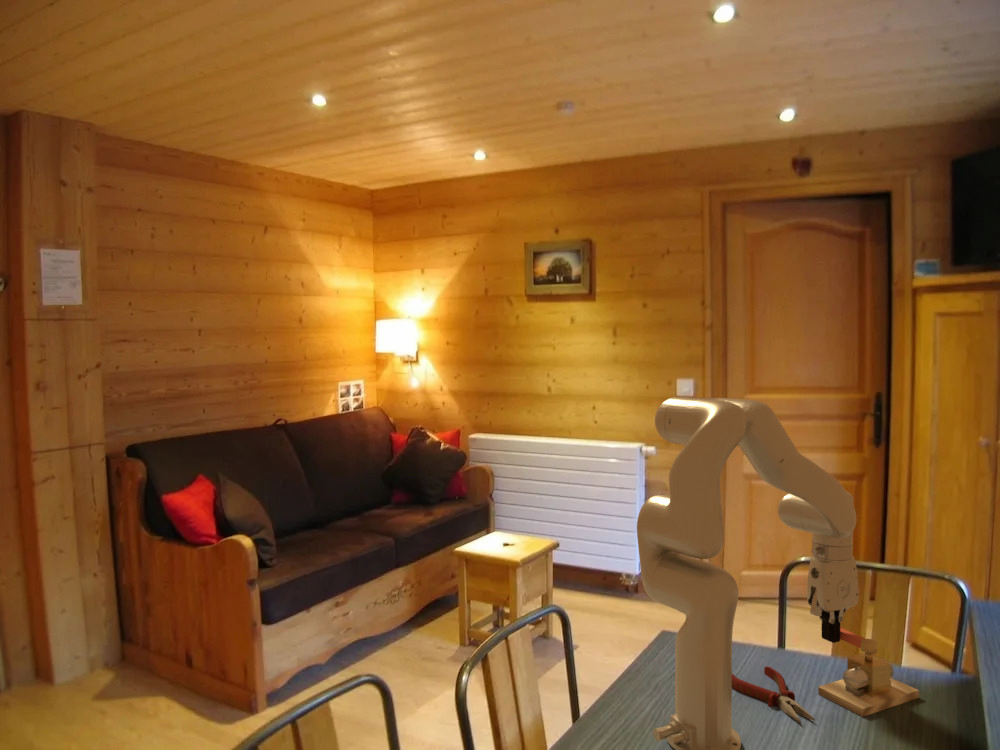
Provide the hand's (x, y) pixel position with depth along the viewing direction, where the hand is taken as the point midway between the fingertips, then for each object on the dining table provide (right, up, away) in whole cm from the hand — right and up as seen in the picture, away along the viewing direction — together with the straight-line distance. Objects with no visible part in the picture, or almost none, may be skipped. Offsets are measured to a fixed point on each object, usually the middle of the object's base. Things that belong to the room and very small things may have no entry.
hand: (830, 639), depth 150 cm
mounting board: (+5, -9, -5) cm, 12 cm away
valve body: (+5, -8, -5) cm, 11 cm away
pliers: (-15, -10, -5) cm, 19 cm away
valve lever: (+3, 0, -1) cm, 3 cm away
